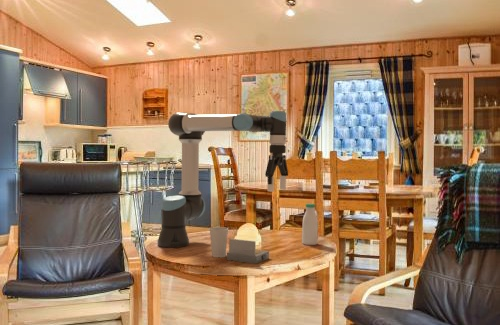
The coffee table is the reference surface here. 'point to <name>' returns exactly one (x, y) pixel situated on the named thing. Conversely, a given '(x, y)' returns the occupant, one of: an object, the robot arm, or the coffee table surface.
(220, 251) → the cup
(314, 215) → the milk bottle
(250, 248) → the grey holder block
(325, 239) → the coffee table surface
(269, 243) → the coffee table surface
